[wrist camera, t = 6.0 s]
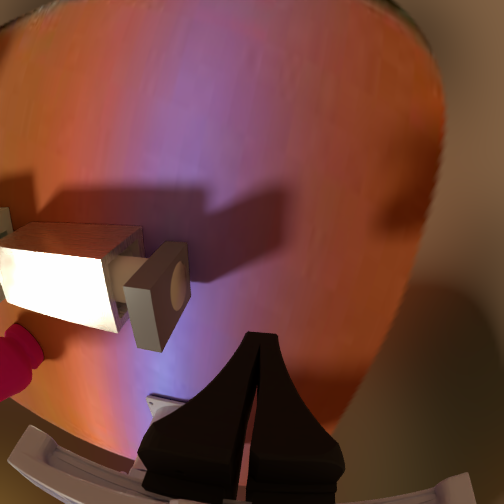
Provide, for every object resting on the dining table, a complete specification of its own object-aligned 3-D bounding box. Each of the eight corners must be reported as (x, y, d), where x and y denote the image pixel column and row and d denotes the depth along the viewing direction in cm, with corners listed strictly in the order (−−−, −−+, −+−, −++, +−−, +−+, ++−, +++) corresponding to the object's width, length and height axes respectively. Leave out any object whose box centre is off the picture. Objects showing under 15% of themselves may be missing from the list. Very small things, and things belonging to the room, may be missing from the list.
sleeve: (141, 226, 19) (100, 259, 14) (150, 289, 21) (117, 333, 17) (31, 221, 20) (-11, 245, 16) (43, 273, 23) (7, 302, 18)
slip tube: (187, 242, 18) (149, 290, 13) (191, 296, 20) (161, 352, 15) (-13, 229, 20) (-52, 252, 15) (-4, 264, 22) (-39, 290, 17)
